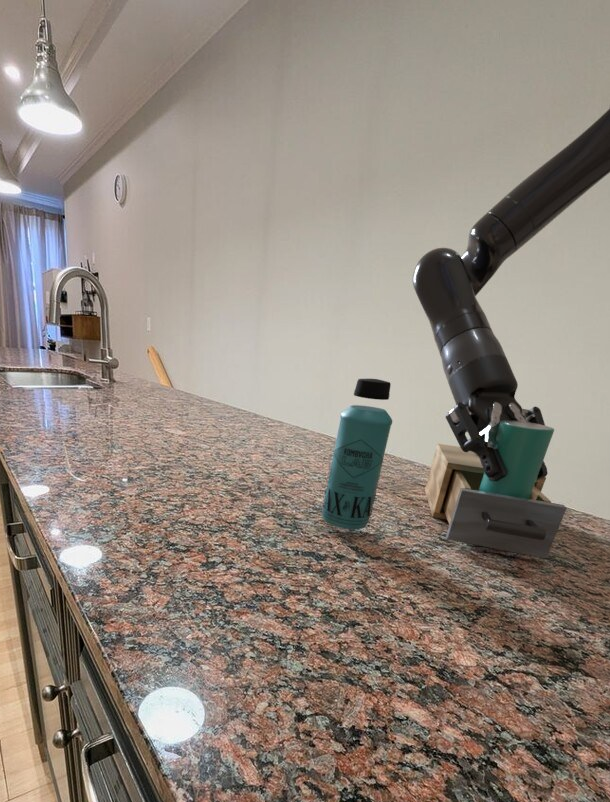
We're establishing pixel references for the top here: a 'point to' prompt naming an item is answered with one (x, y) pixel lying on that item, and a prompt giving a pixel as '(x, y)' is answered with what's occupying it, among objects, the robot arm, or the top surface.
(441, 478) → the cabinet
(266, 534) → the top surface
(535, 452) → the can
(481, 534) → the drawer
